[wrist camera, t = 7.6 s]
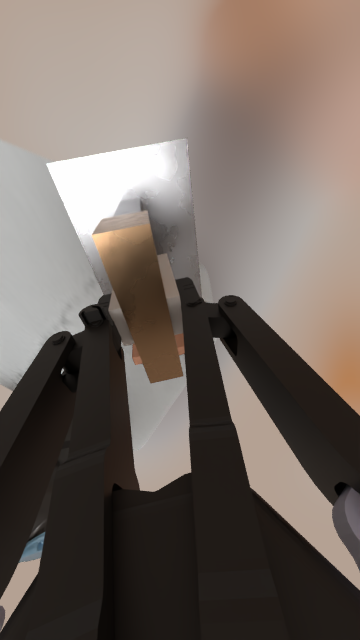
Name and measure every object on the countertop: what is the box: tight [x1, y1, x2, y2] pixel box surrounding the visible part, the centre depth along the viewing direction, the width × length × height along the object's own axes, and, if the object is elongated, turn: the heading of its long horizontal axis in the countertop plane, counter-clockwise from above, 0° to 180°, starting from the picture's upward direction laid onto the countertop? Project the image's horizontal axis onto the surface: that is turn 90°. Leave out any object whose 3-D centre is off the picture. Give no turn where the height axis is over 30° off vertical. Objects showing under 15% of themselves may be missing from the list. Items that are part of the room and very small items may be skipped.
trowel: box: [47, 138, 202, 383], centre depth 16 cm, size 16×10×11 cm, turn 8°
